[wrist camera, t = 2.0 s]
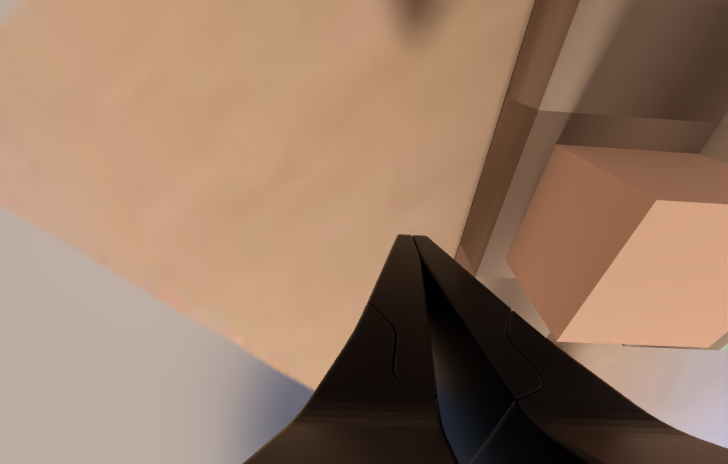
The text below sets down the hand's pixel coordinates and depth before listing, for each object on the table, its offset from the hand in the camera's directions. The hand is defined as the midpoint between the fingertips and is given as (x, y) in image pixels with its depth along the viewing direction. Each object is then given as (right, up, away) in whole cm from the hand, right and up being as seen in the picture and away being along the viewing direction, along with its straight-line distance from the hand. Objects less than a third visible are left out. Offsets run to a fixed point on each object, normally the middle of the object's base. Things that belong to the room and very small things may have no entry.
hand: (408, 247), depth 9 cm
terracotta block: (+7, +1, +3) cm, 8 cm away
